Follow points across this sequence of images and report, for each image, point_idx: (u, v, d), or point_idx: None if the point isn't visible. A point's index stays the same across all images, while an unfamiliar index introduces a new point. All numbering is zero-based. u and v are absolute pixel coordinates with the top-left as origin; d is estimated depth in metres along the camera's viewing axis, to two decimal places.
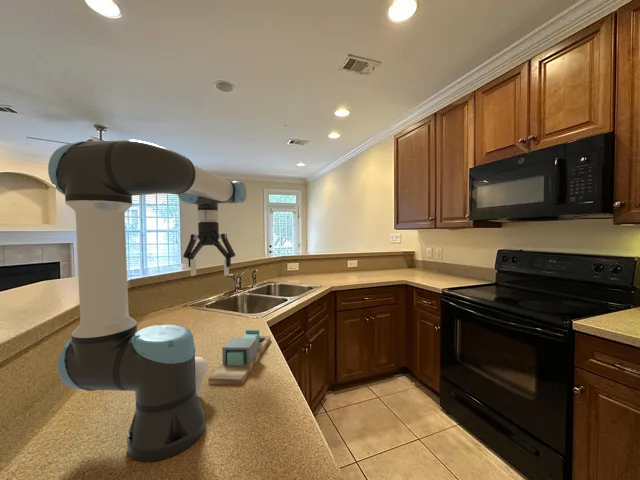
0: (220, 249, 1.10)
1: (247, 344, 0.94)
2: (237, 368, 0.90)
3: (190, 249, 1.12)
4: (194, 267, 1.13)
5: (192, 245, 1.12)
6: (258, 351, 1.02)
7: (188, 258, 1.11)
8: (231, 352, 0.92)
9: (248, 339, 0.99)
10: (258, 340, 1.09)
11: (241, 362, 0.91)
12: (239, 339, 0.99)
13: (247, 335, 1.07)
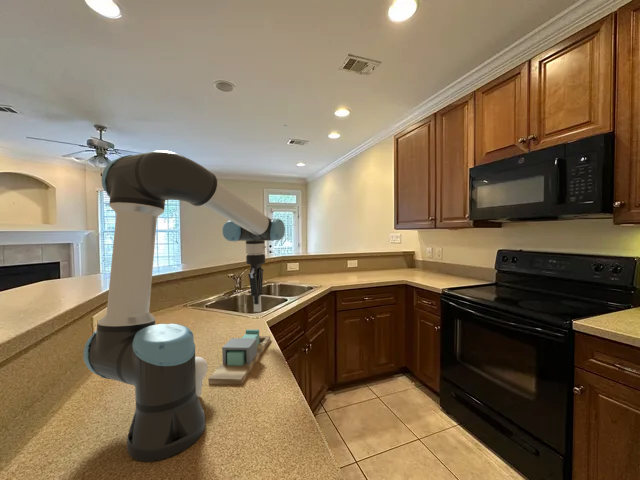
0: None
1: (247, 344, 0.94)
2: (237, 368, 0.90)
3: None
4: None
5: None
6: (258, 351, 1.02)
7: None
8: (231, 352, 0.92)
9: (248, 339, 0.99)
10: (258, 340, 1.09)
11: (241, 362, 0.91)
12: (239, 339, 0.99)
13: (247, 335, 1.07)
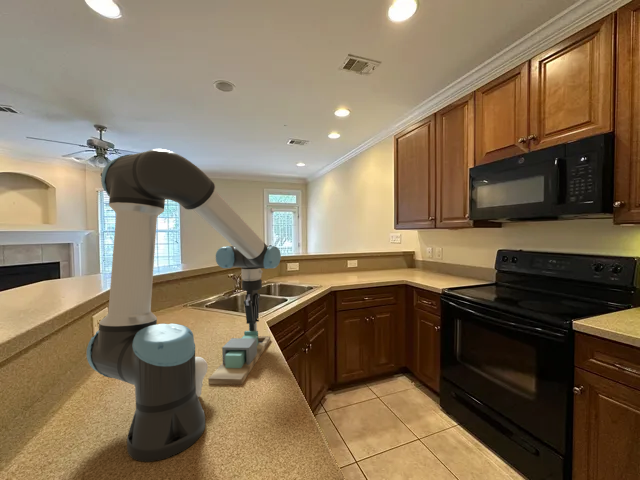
0: None
1: (247, 344, 0.94)
2: (237, 368, 0.90)
3: None
4: None
5: None
6: (258, 351, 1.02)
7: None
8: (229, 354, 0.90)
9: (248, 339, 0.99)
10: (257, 342, 1.07)
11: (239, 364, 0.90)
12: (239, 339, 0.99)
13: (246, 336, 1.06)
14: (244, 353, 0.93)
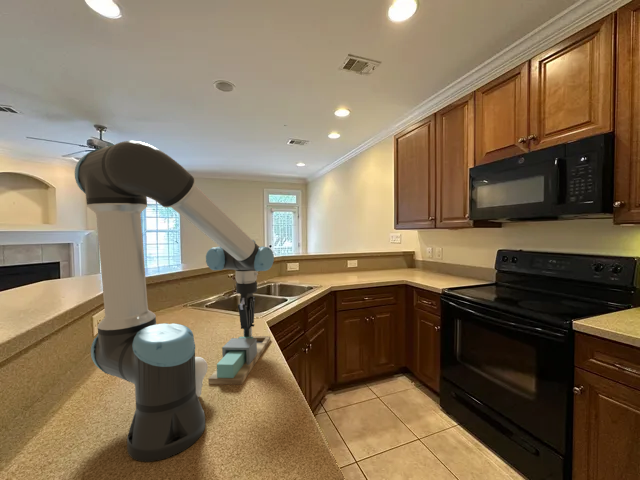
0: None
1: (247, 344, 0.94)
2: None
3: None
4: (248, 336, 1.04)
5: None
6: (258, 351, 1.02)
7: None
8: (221, 363, 0.84)
9: (248, 339, 0.99)
10: None
11: (232, 374, 0.83)
12: (239, 339, 0.99)
13: None
14: (237, 361, 0.87)
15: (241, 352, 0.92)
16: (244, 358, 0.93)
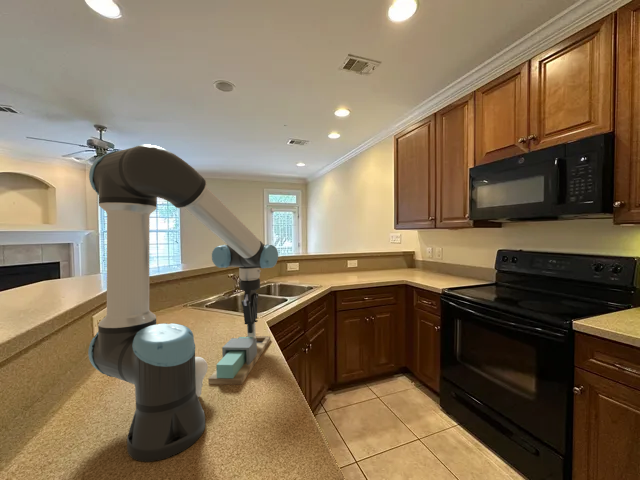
0: None
1: (247, 344, 0.94)
2: None
3: None
4: None
5: None
6: (258, 351, 1.02)
7: None
8: (221, 364, 0.84)
9: (248, 339, 0.99)
10: None
11: (232, 374, 0.83)
12: (239, 339, 0.99)
13: None
14: (237, 362, 0.87)
15: (241, 352, 0.92)
16: (244, 358, 0.93)
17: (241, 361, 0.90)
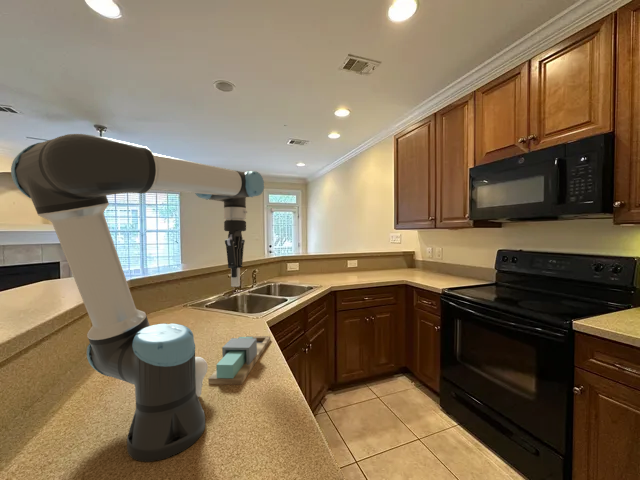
0: None
1: (247, 344, 0.94)
2: None
3: None
4: None
5: None
6: (258, 351, 1.02)
7: None
8: (221, 364, 0.84)
9: (248, 339, 0.99)
10: None
11: (232, 374, 0.83)
12: (239, 339, 0.99)
13: None
14: (237, 362, 0.87)
15: (241, 352, 0.92)
16: (244, 358, 0.93)
17: (241, 361, 0.90)
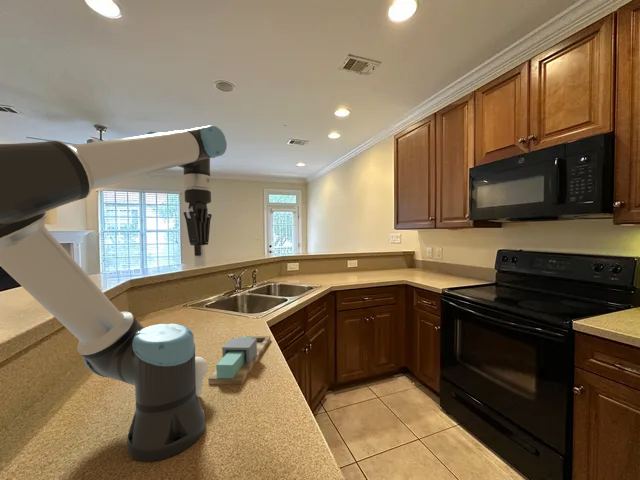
0: None
1: (247, 344, 0.94)
2: None
3: None
4: None
5: None
6: (258, 351, 1.02)
7: None
8: (221, 364, 0.84)
9: (248, 339, 0.99)
10: None
11: (232, 374, 0.83)
12: (239, 339, 0.99)
13: None
14: (237, 362, 0.87)
15: (241, 352, 0.92)
16: (244, 358, 0.93)
17: (241, 361, 0.90)
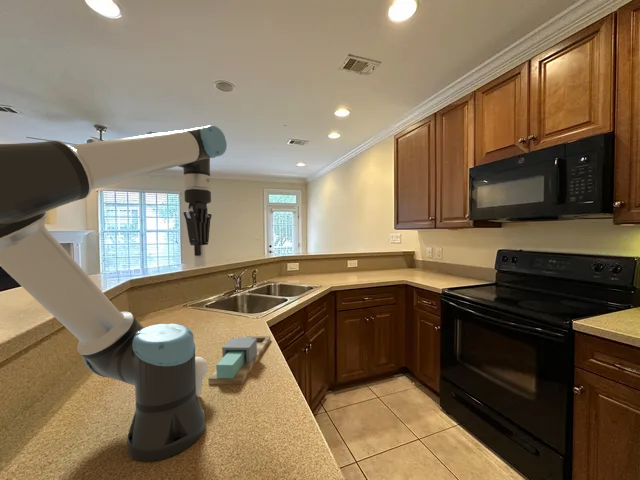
0: None
1: (247, 344, 0.94)
2: None
3: None
4: None
5: None
6: (258, 351, 1.02)
7: None
8: (221, 364, 0.84)
9: (248, 339, 0.99)
10: None
11: (232, 374, 0.83)
12: (239, 339, 0.99)
13: None
14: (237, 362, 0.87)
15: (241, 352, 0.92)
16: (244, 358, 0.93)
17: (241, 361, 0.90)
